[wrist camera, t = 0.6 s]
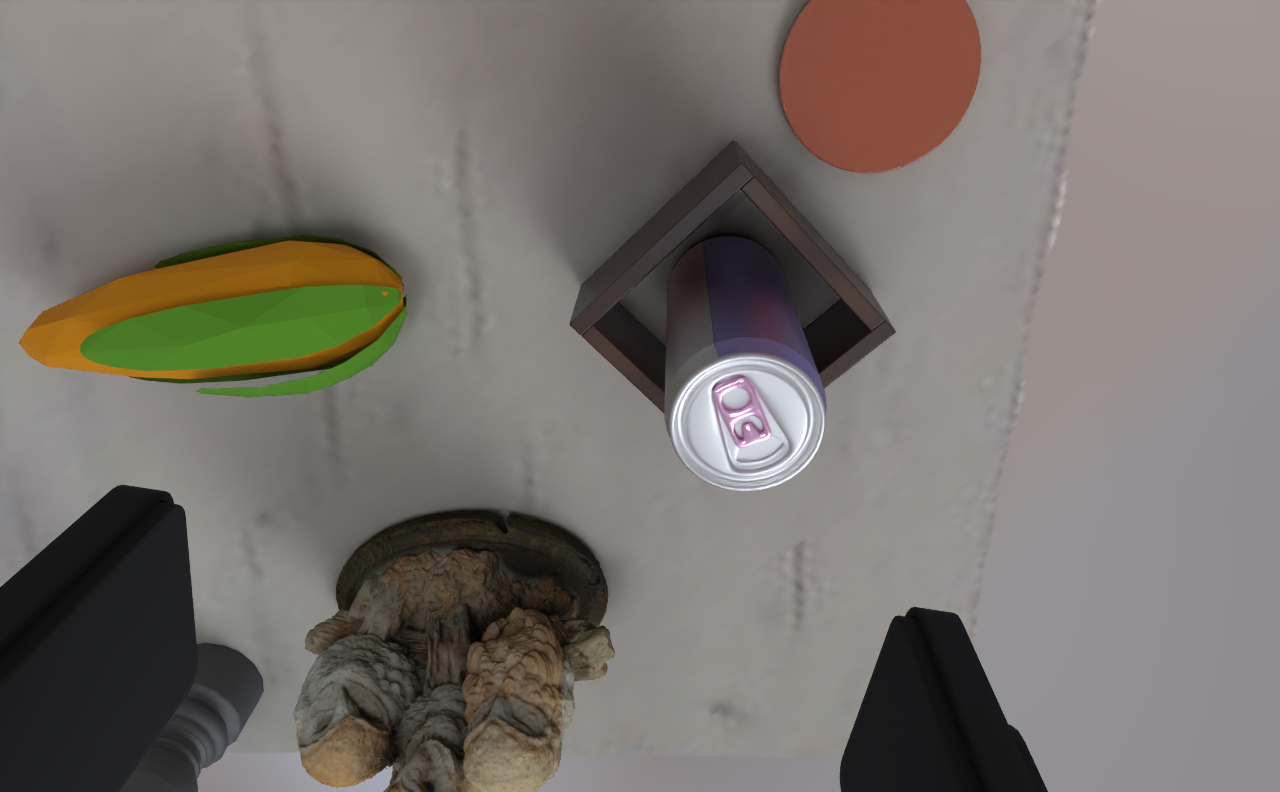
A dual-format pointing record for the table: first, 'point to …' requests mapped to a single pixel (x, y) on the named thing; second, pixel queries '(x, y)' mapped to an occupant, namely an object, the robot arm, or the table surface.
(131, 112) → the table surface
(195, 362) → the corn
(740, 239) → the beverage can
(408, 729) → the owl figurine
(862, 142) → the coaster
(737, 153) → the caddy
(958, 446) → the table surface
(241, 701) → the candle holder
